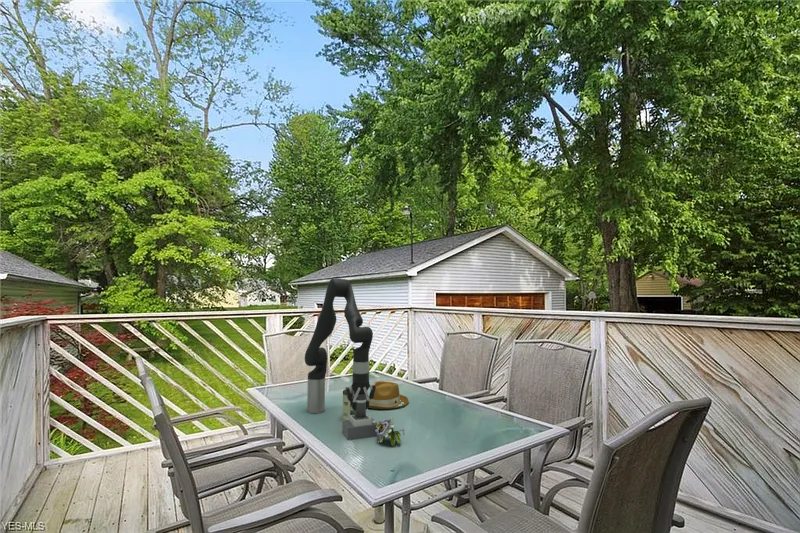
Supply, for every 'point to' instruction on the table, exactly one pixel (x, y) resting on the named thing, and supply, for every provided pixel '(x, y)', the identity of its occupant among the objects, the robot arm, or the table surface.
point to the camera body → (359, 427)
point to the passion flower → (387, 432)
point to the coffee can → (347, 406)
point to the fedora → (387, 396)
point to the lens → (360, 406)
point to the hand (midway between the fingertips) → (360, 409)
